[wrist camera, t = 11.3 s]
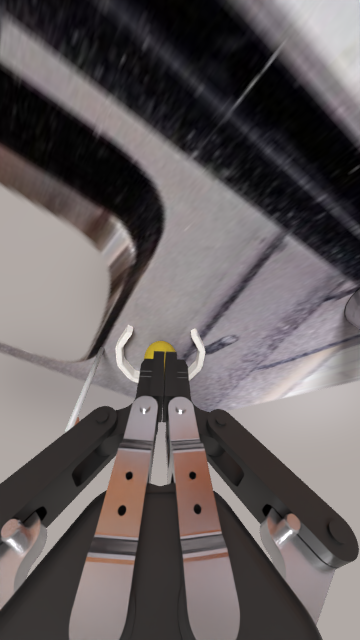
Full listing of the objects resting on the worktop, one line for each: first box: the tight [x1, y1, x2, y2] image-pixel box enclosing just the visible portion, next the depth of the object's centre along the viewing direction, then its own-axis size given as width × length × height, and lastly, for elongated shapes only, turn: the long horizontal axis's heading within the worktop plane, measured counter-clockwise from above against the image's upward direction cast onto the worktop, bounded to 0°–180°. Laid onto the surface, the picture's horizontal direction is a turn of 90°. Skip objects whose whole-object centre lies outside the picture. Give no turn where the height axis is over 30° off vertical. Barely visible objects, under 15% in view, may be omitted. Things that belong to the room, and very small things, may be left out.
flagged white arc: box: [65, 325, 205, 433], centre depth 35 cm, size 19×14×16 cm
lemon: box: [144, 341, 175, 366], centre depth 37 cm, size 6×6×8 cm
